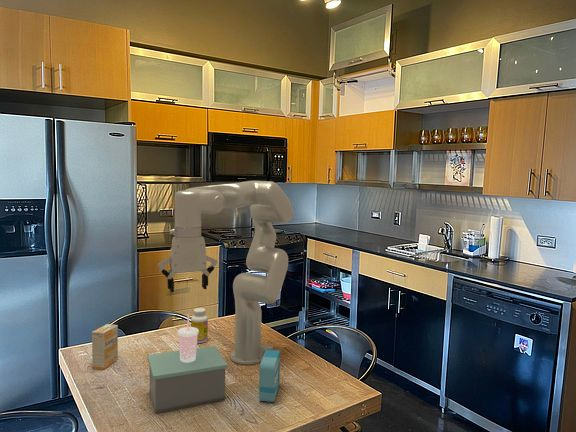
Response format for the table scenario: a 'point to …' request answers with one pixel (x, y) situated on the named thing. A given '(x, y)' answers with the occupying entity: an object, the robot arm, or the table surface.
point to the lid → (172, 366)
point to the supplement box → (104, 346)
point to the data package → (269, 376)
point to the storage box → (187, 390)
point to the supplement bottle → (200, 324)
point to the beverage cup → (188, 343)
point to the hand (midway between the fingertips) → (188, 289)
